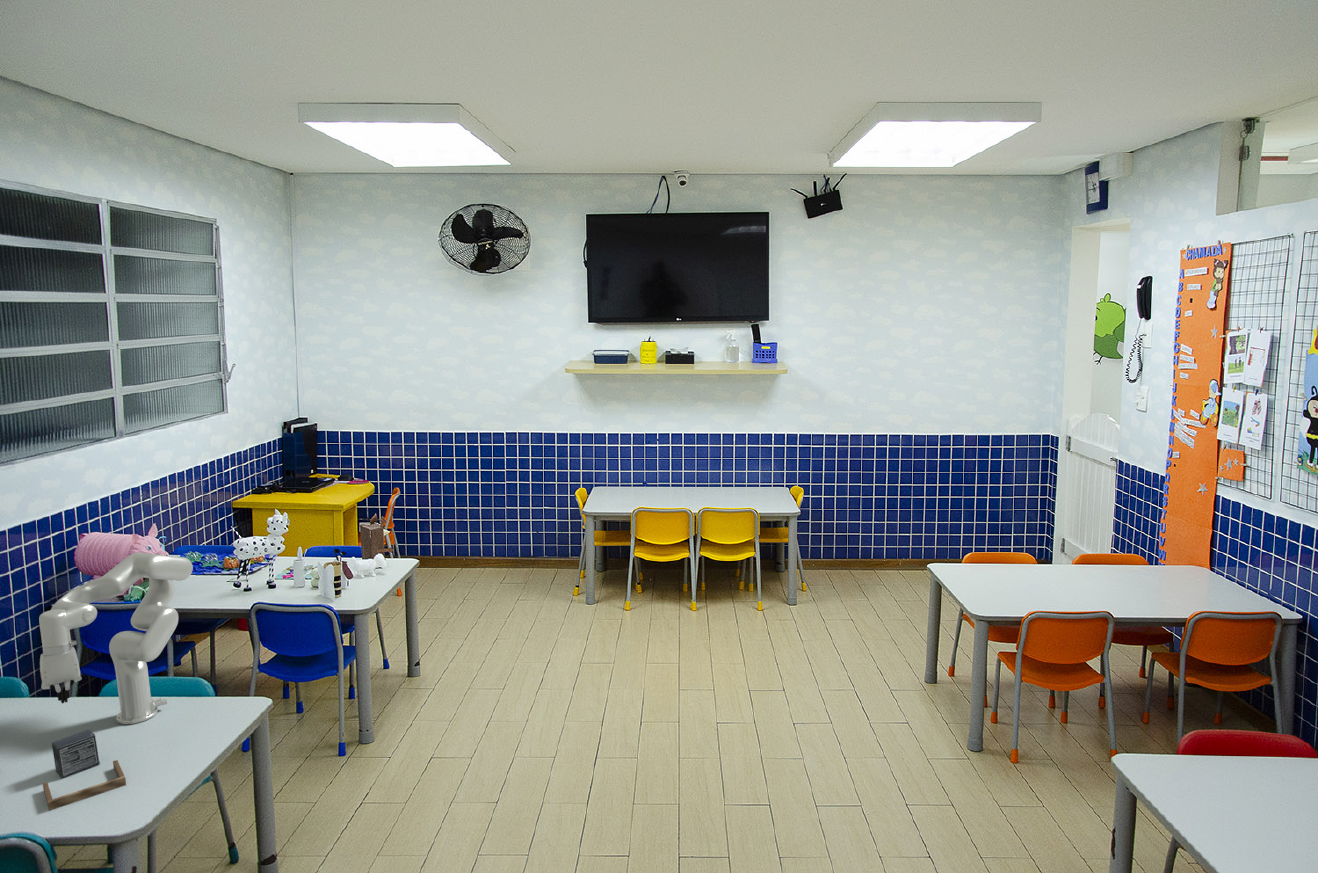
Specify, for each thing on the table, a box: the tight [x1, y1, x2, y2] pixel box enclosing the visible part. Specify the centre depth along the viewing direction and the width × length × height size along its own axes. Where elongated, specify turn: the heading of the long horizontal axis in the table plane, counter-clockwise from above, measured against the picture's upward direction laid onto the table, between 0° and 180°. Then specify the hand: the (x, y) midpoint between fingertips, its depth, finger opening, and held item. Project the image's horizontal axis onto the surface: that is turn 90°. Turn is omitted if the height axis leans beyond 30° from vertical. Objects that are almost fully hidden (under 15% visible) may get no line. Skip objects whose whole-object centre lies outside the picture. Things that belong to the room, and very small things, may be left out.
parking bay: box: [42, 759, 127, 811], centre depth 257 cm, size 19×13×2 cm
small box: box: [51, 729, 101, 779], centre depth 267 cm, size 11×6×10 cm, turn 141°
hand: (64, 701), depth 274 cm, fingers closed
